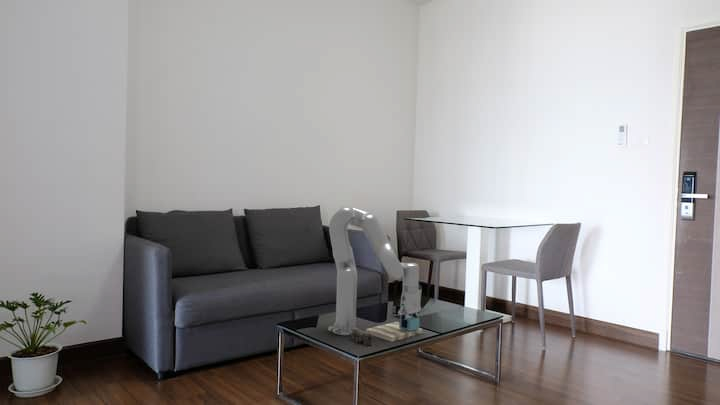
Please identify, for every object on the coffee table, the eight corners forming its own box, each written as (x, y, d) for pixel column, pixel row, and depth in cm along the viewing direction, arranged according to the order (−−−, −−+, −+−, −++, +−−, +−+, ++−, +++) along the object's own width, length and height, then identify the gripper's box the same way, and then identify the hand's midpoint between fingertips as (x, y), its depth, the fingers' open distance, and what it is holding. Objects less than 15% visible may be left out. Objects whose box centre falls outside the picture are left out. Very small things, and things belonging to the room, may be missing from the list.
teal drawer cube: (410, 331, 241) (410, 320, 241) (399, 328, 246) (399, 317, 245) (419, 328, 245) (419, 317, 245) (408, 325, 250) (408, 315, 250)
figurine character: (390, 318, 279) (410, 321, 267) (390, 304, 279) (410, 306, 268) (399, 317, 283) (419, 319, 272) (398, 303, 284) (419, 305, 272)
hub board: (392, 341, 232) (392, 329, 232) (365, 333, 244) (365, 321, 244) (422, 333, 247) (422, 321, 247) (396, 325, 259) (396, 314, 259)
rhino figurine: (353, 337, 236) (353, 324, 236) (373, 345, 226) (374, 331, 226) (346, 339, 233) (347, 326, 233) (367, 347, 223) (367, 333, 223)
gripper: (404, 292, 236) (403, 331, 237) (427, 288, 248) (426, 324, 249) (392, 289, 241) (391, 327, 242) (415, 285, 254) (414, 321, 254)
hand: (409, 325), depth 245 cm, fingers closed on teal drawer cube, 6 cm apart
